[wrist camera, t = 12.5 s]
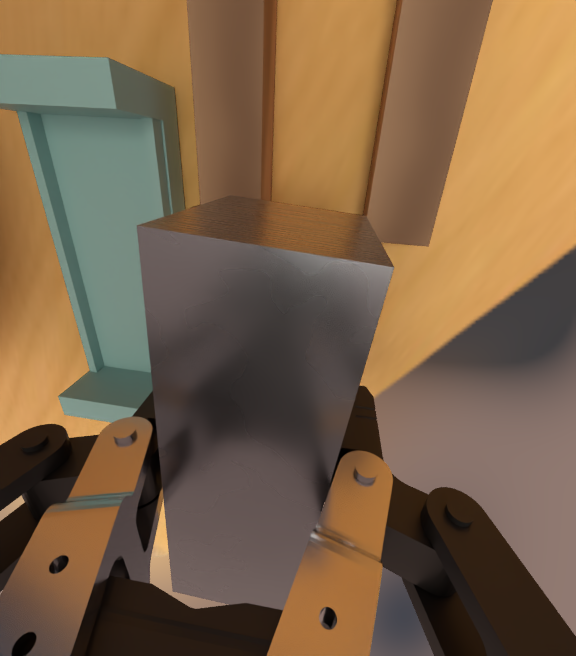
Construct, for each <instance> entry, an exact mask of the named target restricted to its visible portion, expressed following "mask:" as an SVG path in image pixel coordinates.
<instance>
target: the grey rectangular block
mask: <svg viewBox="0 0 576 656" xmlns="http://www.w3.org/2000/svg"><path fill="white" fill-rule="evenodd" d="M137 235H138V245H139V255H140V265H141V276H142V286H143V296H144V306H145V316H146V326H147V336H148V346H149V356H150V367H151V377H152V387H153V397H154V407H155V417H156V427H157V437H158V447H159V458H160V468H161V478H162V488H163V498H164V508H165V518H166V528H167V538H168V548H169V559H170V568H171V579H172V588H173V592H178V593H182V594H186V595H190V596H195V597H199V598H203V599H208V600H212V601H216V602H221V603H225V604H229V605H232V604H240V603H250V604H255V605H260V606H265V607H270V608H275V609H280V610H283V609H284V607H285V604H286V601H287V598H288V596H289V593H290V590H291V587H292V585H293V582H294V579H295V576H296V574H297V571H298V568H299V565H300V563H301V560H302V557H303V554H304V552H305V549H306V546H307V543H308V541H309V538H310V536H311V533H312V531H313V530H314V529H315V528H316V526H317V524H318V521H319V518H320V515H321V512H322V509H323V505H324V502H325V499H326V495H327V492H328V489H329V485H330V482H331V478H332V475H333V472H334V468H335V465H336V462H337V458H338V455H339V452H340V448H341V445H342V441H343V438H344V435H345V431H346V428H347V425H348V421H349V418H350V414H351V411H352V408H353V404H354V401H355V398H356V394H357V391H358V388H359V384H360V381H361V377H362V374H363V371H364V367H365V364H366V361H367V357H368V354H369V350H370V347H371V344H372V340H373V337H374V334H375V330H376V327H377V324H378V320H379V317H380V313H381V310H382V307H383V303H384V300H385V297H386V293H387V290H388V286H389V283H390V280H391V276H392V273H393V270H394V266H393V264H392V262H391V261H390V259H389V257H388V255H387V253H386V251H385V250H384V248H383V246H382V244H381V242H380V240H379V238H378V237H377V235H376V233H375V231H374V229H373V227H372V225H371V224H370V222H369V220H368V218H367V216H363V215H357V214H350V213H344V212H337V211H331V210H324V209H318V208H311V207H305V206H298V205H292V204H285V203H279V202H272V201H266V200H259V199H253V198H246V197H240V196H233V195H229V196H226V197H223V198H220V199H217V200H214V201H211V202H208V203H204V204H201V205H198V206H195V207H192V208H189V209H186V210H183V211H180V212H177V213H174V214H170V215H167V216H164V217H161V218H158V219H155V220H152V221H149V222H146V223H143V224H139V225H137Z"/></svg>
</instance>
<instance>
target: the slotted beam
mask: <svg viewBox="0 0 576 656" xmlns="http://www.w3.org/2000/svg"><path fill="white" fill-rule="evenodd" d="M492 1H493V0H397V5H396V11H395V17H394V24H393V30H392V36H391V42H390V49H389V55H388V61H387V68H386V74H385V80H384V87H383V93H382V99H381V106H380V112H379V118H378V124H377V131H376V137H375V143H374V150H373V156H372V162H371V169H370V175H369V181H368V187H367V194H366V200H365V206H364V213H363V216H367V218H368V220H369V222H370V224H371V225H372V227H373V229H374V231H375V233H376V235H377V237H378V238H379V240H380V242H384V243H395V244H406V245H417V246H428V247H429V243H430V239H431V235H432V231H433V227H434V224H435V220H436V216H437V212H438V208H439V204H440V201H441V197H442V193H443V189H444V185H445V181H446V178H447V174H448V170H449V166H450V162H451V158H452V155H453V151H454V147H455V143H456V139H457V136H458V132H459V128H460V124H461V120H462V116H463V113H464V109H465V105H466V101H467V97H468V93H469V90H470V86H471V82H472V78H473V74H474V70H475V67H476V63H477V59H478V55H479V51H480V47H481V44H482V40H483V36H484V32H485V28H486V24H487V21H488V17H489V13H490V9H491V5H492ZM187 10H188V25H189V40H190V55H191V70H192V85H193V101H194V116H195V131H196V146H197V161H198V176H199V191H200V205H201V204H204V203H208V202H211V201H214V200H217V199H220V198H223V197H226V196H229V195H233V196H240V197H246V198H253V199H259V200H266V201H271V188H272V155H273V122H274V89H275V55H276V22H277V0H187Z"/></svg>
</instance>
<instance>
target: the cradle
mask: <svg viewBox="0 0 576 656" xmlns="http://www.w3.org/2000/svg"><path fill="white" fill-rule="evenodd" d="M0 109H6V110H12V111H17V114H18V117H19V121H20V125H21V128H22V132H23V135H24V139H25V142H26V146H27V149H28V153H29V156H30V160H31V164H32V167H33V171H34V174H35V178H36V181H37V185H38V188H39V192H40V195H41V199H42V202H43V206H44V210H45V213H46V217H47V220H48V224H49V227H50V231H51V234H52V238H53V241H54V245H55V249H56V252H57V256H58V259H59V263H60V266H61V270H62V273H63V277H64V280H65V284H66V287H67V291H68V295H69V298H70V302H71V305H72V309H73V312H74V316H75V319H76V323H77V326H78V330H79V334H80V337H81V341H82V344H83V348H84V351H85V355H86V358H87V362H88V365H89V369H90V371H89V372H87V373H86V374H85V375H84V376H83V377H81V378H80V379H79V380H78V381H76V382H75V383H74V384H73V385H71V386H70V387H69V388H68V389H67V390H65V391H64V392H63V393H62V394H60V395H59V396H58V397H59V400H60V403H61V406H62V409H63V411H64V414H65V415H69V416H75V417H81V418H88V419H94V420H100V421H106V422H112V423H113V422H114V421H117V420H119V419H122V418H126V417H132V416H133V414H134V413H135V412H136V411H137V409H138V408H139V407H140V406H141V404H142V403H143V402H144V401H145V399H146V398H147V397H148V396H149V394H150V393H151V392H152V391H153V387H152V377H151V367H150V356H149V346H148V336H147V326H146V316H145V306H144V296H143V286H142V276H141V265H140V255H139V245H138V235H137V225H139V224H143V223H146V222H149V221H152V220H155V219H158V218H161V217H164V216H167V215H170V214H174V213H177V212H180V211H183V210H185V203H184V192H183V180H182V169H181V158H180V146H179V135H178V124H177V112H176V101H175V90H174V87H171V86H169V85H167V84H165V83H163V82H161V81H158V80H156V79H154V78H152V77H150V76H147V75H145V74H143V73H141V72H139V71H136V70H134V69H132V68H130V67H128V66H125V65H123V64H121V63H119V62H117V61H114V60H112V59H110V58H104V57H71V56H38V55H5V54H0Z"/></svg>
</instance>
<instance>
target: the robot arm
mask: <svg viewBox="0 0 576 656" xmlns="http://www.w3.org/2000/svg"><path fill="white" fill-rule="evenodd" d="M376 419H377V418H376V411H375V405H374V398H373V396H372V395H371V393H370V392H369V390H368V389H367V388H366V387H365V386H359V388H358V391H357V394H356V398H355V401H354V404H353V408H352V411H351V414H350V418H349V421H348V425H347V428H346V431H345V435H344V438H343V441H342V445H341V448H340V452H339V455H338V458H337V462H336V465H335V468H334V472H333V475H332V478H331V482H330V485H329V489H328V492H327V495H326V499H325V504H324V507H323V510H322V513H321V515H320V518H319V521H318V524H317V526H316V528H315V529H314V530H313V531H312V533H311V536H310V538H309V541H308V543H307V546H306V549H305V552H304V554H303V557H302V560H301V563H300V565H299V568H298V571H297V574H296V576H295V579H294V582H293V585H292V587H291V590H290V593H289V596H288V598H287V601H286V604H285V607H284V609H283V610H280V609H275V608H270V607H265V606H260V605H255V604H250V603H240V604H232V605H225V606H216V607H208V608H200V609H194V608H190V607H188V606H187V605H185V604H183V603H182V602H180V601H178V600H177V599H175V598H174V597H172V596H170V595H169V594H167V593H166V592H164V591H162V590H161V589H159V588H158V587H156V586H154V585H153V584H150V560H151V554H152V549H153V544H154V540H155V535H156V530H157V525H158V521H159V516H160V511H161V506H162V502H163V488H162V478H161V468H160V458H159V447H158V437H157V427H156V417H155V407H154V397H153V391H152V392H151V393H150V394H149V396H148V397H147V398H146V399H145V401H144V402H143V403H142V404H141V406H140V407H139V408H138V409H137V411H136V412H135V413H134V414H133V416H132V417H126V418H122V419H119V420H117V421H114V422H113V423H111V424H109V425H108V426H106V427H105V428H104V429H103V430H102V431H101V433H100V434H99V435H93V436H84V437H74V438H69V437H68V434H67V431H66V430H65V428H64V427H62V426H60V425H56V424H45V425H40V426H36V427H33V428H30V429H28V430H26V431H24V432H22V433H20V434H18V435H17V436H15V437H13V438H12V439H10V440H8V441H7V442H5V443H3V444H2V445H0V511H1V510H2V509H4V508H5V507H6V506H8V505H9V504H10V503H11V502H13V501H14V500H16V499H17V498H18V497H19V496H21V495H22V497H23V499H24V501H25V503H24V504H22V505H21V506H20V507H19V508H17V509H16V510H14V511H13V512H12V513H11V514H9V515H8V516H7V517H5V518H4V519H3V520H1V521H0V592H1V591H2V590H3V591H2V593H1V595H0V656H369V655H370V648H371V642H372V635H373V629H374V622H375V615H376V609H377V602H378V596H379V589H380V582H381V576H382V566H383V567H384V568H386V569H388V570H390V571H392V572H393V573H395V574H397V575H399V576H400V577H402V580H403V582H404V585H405V587H406V589H407V592H408V594H409V597H410V599H411V601H412V604H413V606H414V609H415V610H416V613H417V616H418V618H419V621H420V623H421V625H422V628H423V630H424V632H425V635H426V637H427V640H428V642H429V644H430V647H431V649H432V651H433V654H434V656H576V636H575V635H574V634H573V632H572V631H571V629H570V628H569V627H568V625H567V624H566V623H565V621H564V620H563V618H562V617H561V616H560V614H559V613H558V612H557V610H556V609H555V607H554V606H553V605H552V603H551V602H550V601H549V599H548V598H547V597H546V595H545V594H544V592H543V591H542V590H541V588H540V587H539V585H538V584H537V583H536V581H535V580H534V579H533V577H532V576H531V574H530V573H529V572H528V570H527V569H526V568H525V566H524V565H523V563H522V562H521V561H520V559H519V558H518V557H517V555H516V554H515V552H514V551H513V550H512V548H511V547H510V546H509V544H508V543H507V541H506V540H505V539H504V537H503V536H502V535H501V533H500V532H499V530H498V529H497V528H496V526H495V525H494V524H493V522H492V521H491V520H490V518H489V517H488V515H487V514H486V513H485V511H484V510H483V509H482V507H481V506H480V505H479V504H478V503H477V502H476V501H475V500H473V499H472V498H471V497H469V496H468V495H466V494H464V493H463V492H461V491H458V490H456V489H452V488H447V487H441V488H437V489H434V490H433V491H432V492H430V494H429V495H428V494H426V493H424V492H422V491H419V490H417V489H415V488H413V487H410V486H408V485H406V484H405V483H403V482H401V481H400V480H398V479H397V478H396V477H395V476H394V475H393V474H392V473H391V471H390V469H389V467H388V466H387V464H386V463H385V462H384V460H383V457H382V450H381V443H380V437H379V430H378V424H377V420H376Z"/></svg>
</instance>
